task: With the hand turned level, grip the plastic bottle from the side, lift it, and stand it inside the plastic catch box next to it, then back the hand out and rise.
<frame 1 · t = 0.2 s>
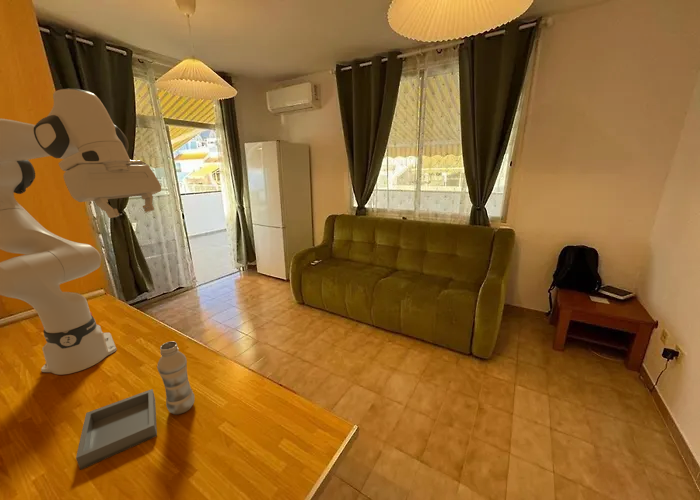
hand: (133, 213, 72), 52 cm above the table, tool tilted 20°, fingers open, 8 cm apart
plastic bottle: (182, 408, 77), on the table
catch box: (122, 429, 71), on the table
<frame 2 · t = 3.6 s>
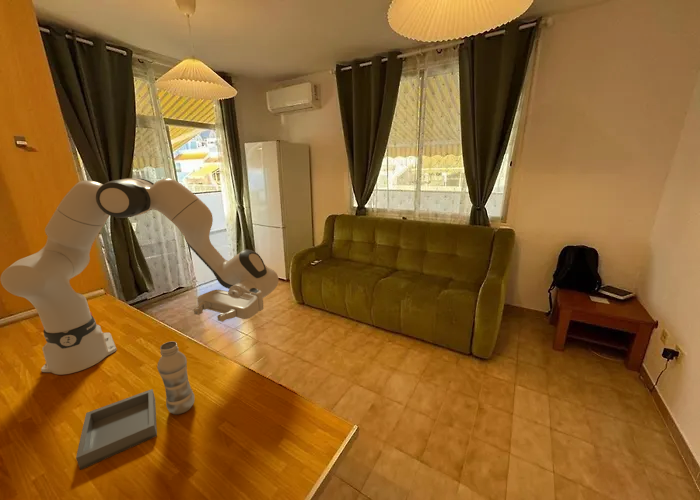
hand: (207, 315, 82), 22 cm above the table, tool horizontal, fingers open, 8 cm apart
nothing on the table moved.
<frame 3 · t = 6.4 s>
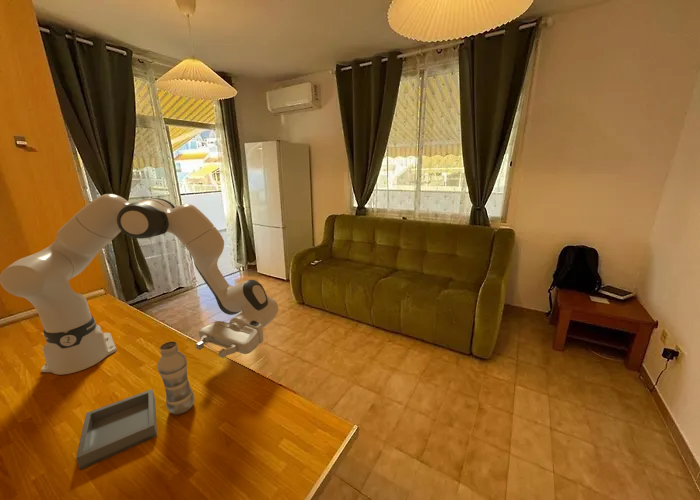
hand: (208, 351, 84), 11 cm above the table, tool horizontal, fingers open, 8 cm apart
nothing on the table moved.
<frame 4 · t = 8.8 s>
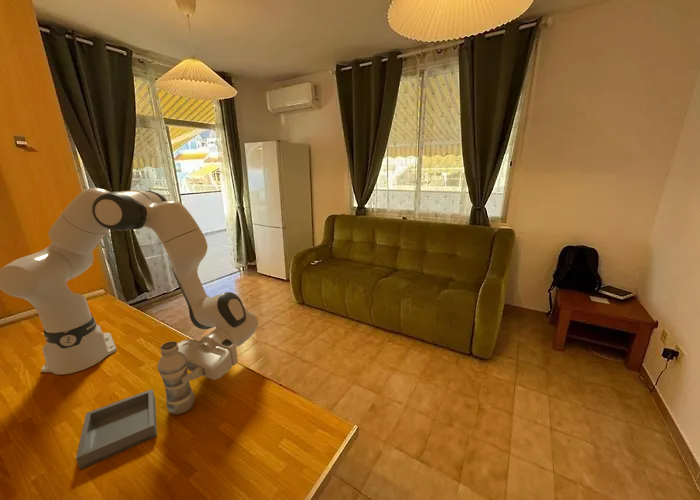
hand: (171, 377, 73), 11 cm above the table, tool horizontal, fingers closed on plastic bottle, 6 cm apart
plastic bottle: (182, 408, 77), on the table, touching gripper
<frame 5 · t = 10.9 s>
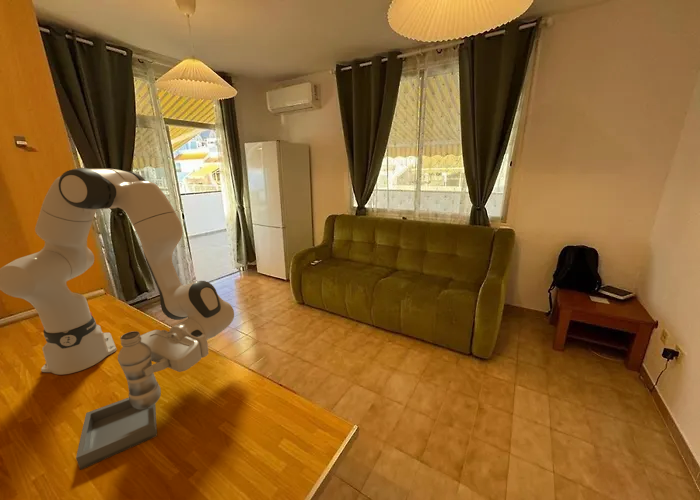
hand: (133, 368, 69), 16 cm above the table, tool horizontal, fingers closed on plastic bottle, 6 cm apart
plastic bottle: (147, 403, 73), point 5 cm above the table, touching gripper
when the fingers open (13 cm above the table, at t = 12.8 s): plastic bottle stays where it is, resting on catch box.
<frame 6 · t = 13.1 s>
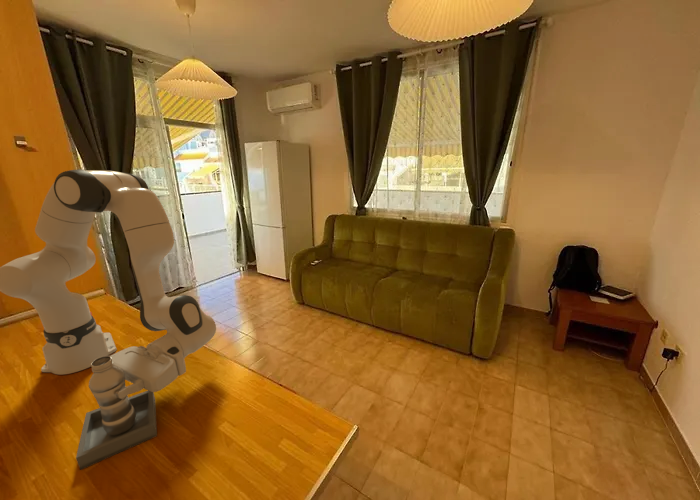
hand: (105, 389, 66), 13 cm above the table, tool horizontal, fingers open, 8 cm apart
plastic bottle: (122, 427, 71), point 1 cm above the table, touching catch box
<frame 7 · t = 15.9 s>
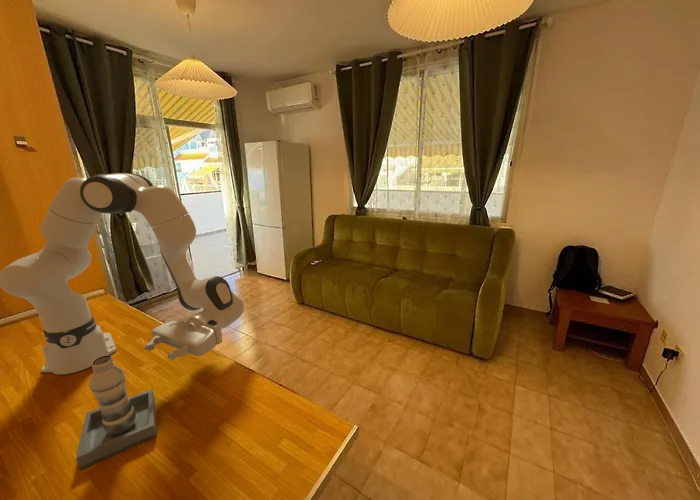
hand: (157, 352, 77), 14 cm above the table, tool horizontal, fingers open, 8 cm apart
nothing on the table moved.
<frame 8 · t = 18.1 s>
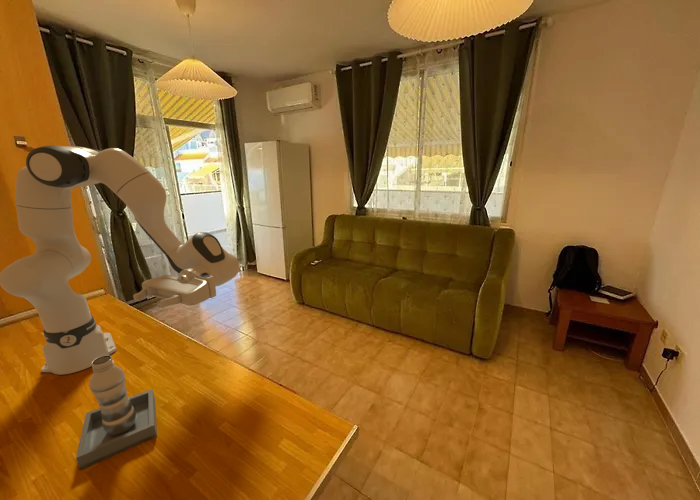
hand: (146, 301, 73), 30 cm above the table, tool horizontal, fingers open, 8 cm apart
nothing on the table moved.
at the end: plastic bottle inside the target area on the catch box (0.1 cm from its centre), point 0.6 cm above the catch box's base; plastic bottle tilted 0°; the gripper is holding nothing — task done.
